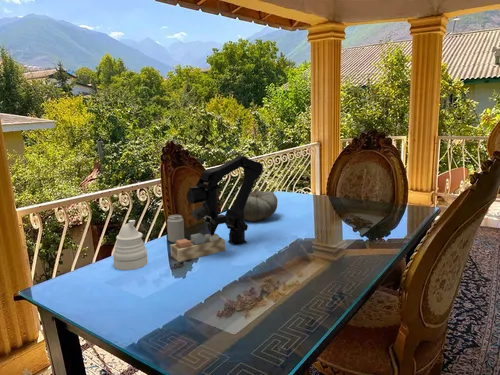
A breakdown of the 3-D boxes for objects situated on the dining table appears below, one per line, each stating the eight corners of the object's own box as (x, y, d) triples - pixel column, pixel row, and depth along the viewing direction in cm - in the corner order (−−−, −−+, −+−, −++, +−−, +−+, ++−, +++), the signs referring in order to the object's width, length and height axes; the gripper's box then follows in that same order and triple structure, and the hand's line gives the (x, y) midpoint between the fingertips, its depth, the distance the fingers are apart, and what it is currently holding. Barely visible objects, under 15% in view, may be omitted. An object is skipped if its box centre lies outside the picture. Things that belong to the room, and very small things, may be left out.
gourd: (287, 211, 218) (282, 182, 214) (266, 229, 199) (260, 198, 194) (251, 210, 232) (246, 183, 228) (228, 227, 213) (221, 198, 208)
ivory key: (214, 243, 169) (213, 232, 168) (219, 246, 165) (218, 235, 164) (205, 245, 166) (205, 234, 165) (210, 248, 163) (209, 237, 162)
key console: (216, 245, 172) (215, 234, 171) (225, 250, 165) (224, 239, 164) (171, 256, 160) (170, 244, 159) (178, 262, 153) (178, 250, 152)
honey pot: (153, 259, 156) (151, 217, 153) (134, 271, 144) (131, 226, 141) (127, 256, 160) (124, 214, 157) (107, 267, 149) (102, 223, 145)
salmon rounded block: (186, 249, 161) (185, 238, 160) (190, 252, 158) (190, 241, 157) (176, 252, 159) (175, 240, 158) (180, 255, 155) (180, 243, 154)
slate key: (200, 244, 165) (200, 233, 164) (205, 247, 161) (204, 235, 160) (191, 246, 162) (190, 235, 161) (195, 249, 159) (195, 237, 158)
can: (180, 243, 175) (179, 218, 172) (165, 242, 176) (164, 217, 174) (186, 238, 182) (185, 214, 179) (172, 237, 183) (170, 213, 181)
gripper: (184, 198, 165) (185, 233, 168) (204, 207, 150) (205, 244, 153) (206, 195, 171) (208, 228, 174) (228, 202, 156) (229, 239, 159)
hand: (212, 235), depth 165 cm, fingers closed, pressing on ivory key
